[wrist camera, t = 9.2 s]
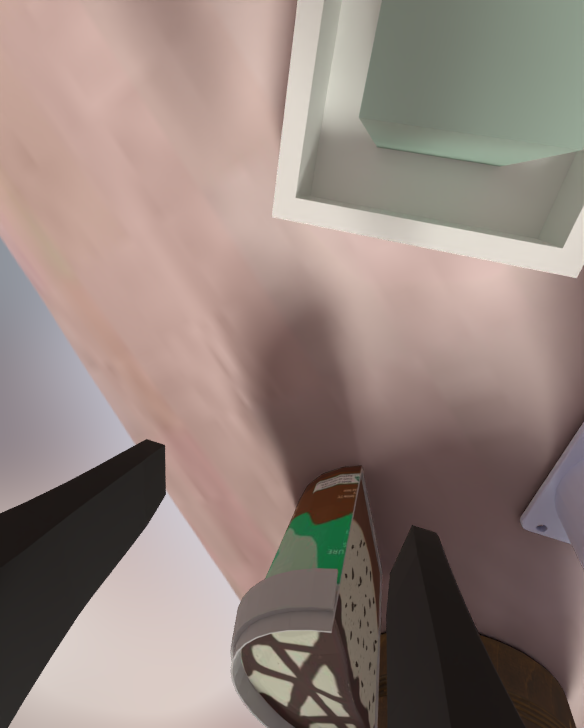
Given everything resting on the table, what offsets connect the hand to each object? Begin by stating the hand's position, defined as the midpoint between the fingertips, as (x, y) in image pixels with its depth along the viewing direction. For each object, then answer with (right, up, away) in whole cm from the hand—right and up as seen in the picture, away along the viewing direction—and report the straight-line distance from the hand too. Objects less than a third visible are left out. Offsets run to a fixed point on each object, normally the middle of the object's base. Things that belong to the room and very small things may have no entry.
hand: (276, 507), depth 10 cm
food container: (+3, -6, +15) cm, 16 cm away
